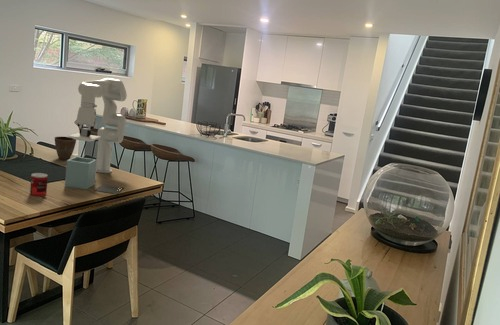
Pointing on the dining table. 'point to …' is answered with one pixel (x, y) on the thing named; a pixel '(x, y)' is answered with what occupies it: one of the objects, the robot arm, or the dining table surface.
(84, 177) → the tub
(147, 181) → the dining table surface
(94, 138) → the lid
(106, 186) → the mat
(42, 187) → the canned food
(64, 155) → the plant pot
